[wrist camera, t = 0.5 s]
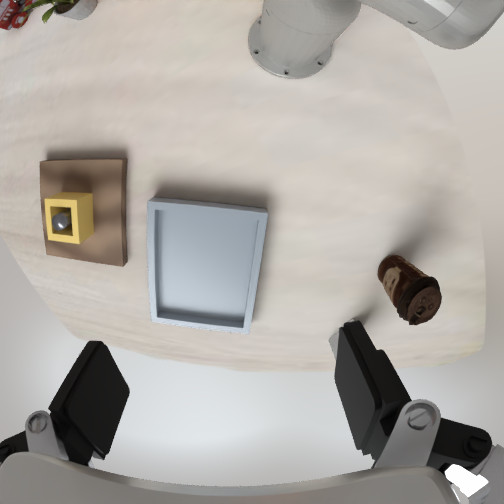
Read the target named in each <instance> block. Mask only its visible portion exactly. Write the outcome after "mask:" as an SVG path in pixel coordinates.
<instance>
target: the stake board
mask: <svg viewBox="0 0 504 504" xmlns="http://www.w3.org/2000/svg"><path fill="white" fill-rule="evenodd" d="M126 173H127V159H64V160H46V161H41V162H40V195H41V210H42V222H43V231H44V239H45V246H46V253H47V255H51V256H57V257H63V258H69V259H75V260H82V261H88V262H95V263H101V264H108V265H115V266H122V267H123V266H124V265H125V264H126V263H127V243H126ZM60 192H77V193H93V224H94V234H93V235H91V236H90V237H89V238H87V239H86V240H85V241H83V242H82V243H81V244H75V243H67V242H60V241H53V240H48V233H47V224H46V213H45V198H47V197H50V196H52V195H55V194H57V193H60ZM68 208H70V207H67V209H68ZM71 225H72V224H71Z"/></svg>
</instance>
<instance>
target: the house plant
mask: <svg viewBox="0 0 504 504" xmlns="http://www.w3.org/2000/svg"><path fill="white" fill-rule="evenodd" d="M29 1H30V0H29ZM29 1H28V2H29ZM54 2H55V3H54ZM45 3H47V4H48V3H51V4H53V5H54V6H53V7H52V8H51V9H49V10H48V11H47V12H46V13H45V14H44V15H43V16H42V20H43V22H44V23H45V22H46V23H47V20H48V19H49V18H50V16H51V15H52V13H53V11H54V13H55V14H56V15H60V16H64V17H69V18H73V19H77V20H82V19H84V18H86V17H88V16H89V15H90V14H91V13H92V12H93V11H94V10H95V8H96V6H97V1H96V0H37V1H36V2H34V3H32V4H30V5H28V6H26V7H27V8H26V7H25V8H26V9H25V8H24V10H23V11H22V12H24V11H26V10H27V9H30V8H35V7H37V8H38V6H39V7H40V5H41V6H42V4H44V5H45ZM35 9H36V8H35ZM32 11H33V10H32ZM32 11H31V12H32ZM22 12H21V13H22ZM29 13H30V12H29ZM29 13H28V14H27V15H26V16H25V18H26V17H27V16H28V15H29ZM25 18H24V19H23V21H24V20H25ZM23 21H22V23H23ZM22 23H21V25H22ZM21 25H20V26H21Z"/></svg>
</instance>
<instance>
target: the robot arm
mask: <svg viewBox="0 0 504 504" xmlns="http://www.w3.org/2000/svg"><path fill="white" fill-rule="evenodd" d="M361 3H363V4H365V5H368V6H370V7H372V8H374V9H376V10H378V11H380V12H382V13H384V14H386V15H387V16H389V17H391V18H393V19H394V20H396V21H398V22H400V23H401V24H403V25H404V26H406V27H408V28H409V29H411V30H412V31H414V32H416V33H418V34H419V35H421V36H422V37H424V38H425V39H427V40H429V41H430V42H432V43H434V44H436V45H438V46H440V47H443V48H447V49H461V48H465V47H468V46H469V45H472V44H473V43H475V42H476V41H478V40H479V39H480V38H481V37H482V36H484V35H485V34H486V33H487V32H488V31H489V29H490V28H491V27H492V26H493V24H494V23H495V22H496V21H497V20H498V18H499V17H500V16H501V15H502V13H503V12H504V0H264V3H263V10H262V17H260V18H259V19H258V20H257V21H256V22H255V23H254V24H253V26H252V27H251V29H250V32H249V36H248V45H249V50H250V53H251V55H252V57H253V58H254V60H255V61H256V62H257V63H258V65H259V66H261V67H262V68H263V69H264V70H266V71H268V72H269V73H271V74H273V75H276V76H279V77H283V78H288V79H299V78H305V77H309V76H311V75H313V74H315V73H317V72H318V71H320V70H321V69H322V68H323V67H324V66H325V65H326V63H327V62H328V60H329V58H330V55H331V49H332V46H331V44H332V43H333V42H334V41H335V40H336V39H337V37H338V36H339V35H340V34H341V33H342V32H343V31H344V30H345V29H346V28H347V27H348V26H349V25H350V24H351V23H352V22H353V21H354V20H355V19H356V17H357V16H358V14H359V11H360V8H361ZM260 23H261V24H260ZM255 52H258V54H255ZM318 63H320V65H319V64H318ZM285 72H287V73H288V74H287V75H286V74H285ZM335 383H336V386H337V389H338V392H339V395H340V398H341V401H342V405H343V407H344V411H345V414H346V417H347V420H348V423H349V427H350V430H351V433H352V436H353V439H354V443H355V446H356V448H357V450H360V449H361V450H362V453H363V455H367V454H371V456H372V459H374V460H375V462H374V464H373V466H372V467H371V469H368V470H362V471H357V472H352V473H347V474H342V475H338V476H332V477H327V478H322V479H315V480H309V481H302V482H294V483H286V484H276V485H263V486H240V487H217V486H194V485H182V484H172V483H163V482H156V481H150V480H144V479H138V478H133V477H127V476H123V475H118V474H114V473H110V472H106V471H102V470H98V469H95V468H94V466H93V464H92V461H91V457H92V456H93V457H94V458H98V459H102V460H104V459H105V456H106V455H107V454H108V453H109V451H110V448H111V445H112V442H113V439H114V436H115V433H116V430H117V427H118V424H119V421H120V419H121V416H122V413H123V410H124V407H125V405H126V402H127V399H128V397H129V393H130V391H129V387H128V385H127V383H126V382H125V380H124V378H123V376H122V374H121V372H120V371H119V369H118V367H117V365H116V363H115V361H114V359H113V357H112V355H111V353H110V351H109V349H108V347H107V346H106V345H104V343H103V342H102V341H89V342H88V343H87V344H86V346H85V347H84V349H83V350H82V352H81V354H80V355H79V357H78V358H77V360H76V362H75V363H74V365H73V366H72V368H71V370H70V372H69V373H68V375H67V376H66V378H65V380H64V381H63V383H62V385H61V386H60V388H59V390H58V392H57V393H56V395H55V397H54V399H53V400H52V402H51V404H50V406H49V408H48V409H49V410H50V411H51V413H50V415H49V414H48V413H47V412H45V411H36V412H34V413H32V414H31V415H30V416H29V417H28V419H27V421H26V424H25V431H23V432H21V433H19V434H17V435H14V436H12V437H10V438H8V439H5V440H4V441H2V442H1V443H0V504H460V501H459V499H458V497H457V495H456V493H455V491H454V489H453V487H452V486H451V484H454V483H455V484H456V485H458V486H459V487H461V489H460V490H461V491H462V492H464V493H465V494H466V495H467V496H468V499H469V504H504V448H503V447H501V446H500V445H498V444H497V445H496V446H494V445H492V440H491V437H490V435H489V434H488V433H487V432H486V431H485V430H483V429H480V428H477V427H473V426H469V425H465V424H462V423H458V422H454V421H451V420H448V419H444V418H441V414H440V410H439V409H438V407H437V406H436V405H435V404H434V403H432V402H430V401H428V400H423V399H418V400H413V401H412V400H411V399H410V396H409V394H408V392H407V391H406V389H405V387H404V385H403V383H402V382H401V380H400V378H399V376H398V375H397V372H396V371H395V369H394V367H393V365H392V363H391V362H390V360H389V358H388V356H387V355H386V353H385V352H384V351H383V350H382V349H381V350H376V348H375V346H374V345H373V343H372V341H371V339H370V337H369V336H368V334H367V332H366V330H365V329H364V327H363V325H362V324H361V322H360V321H359V320H358V321H352V322H346V323H344V327H340V329H339V338H338V349H337V358H336V367H335Z"/></svg>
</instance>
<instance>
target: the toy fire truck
mask: <svg viewBox="0 0 504 504" xmlns="http://www.w3.org/2000/svg"><path fill="white" fill-rule="evenodd" d="M15 1H16V2H14V1H13V0H0V28H2V29H5V30H10V29H11V28H12V27H13V28H20V27H22V26H23V25H24V24H25V23H26V21H27V19H28V16H27V17H26V18H25V16H26V15H27V13H26V12H22V11H23V10H24V8H25V7H26V6H28V5H30V4H32V3H34V2H36V1H37V0H30V1H29V0H15ZM28 1H29V2H28ZM18 5H19V6H18ZM30 9H31V8H30ZM21 12H22V13H21ZM24 18H25V20H24V21H23V19H24ZM22 21H23V23H22ZM21 23H22V25H21ZM20 25H21V26H20Z"/></svg>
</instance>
